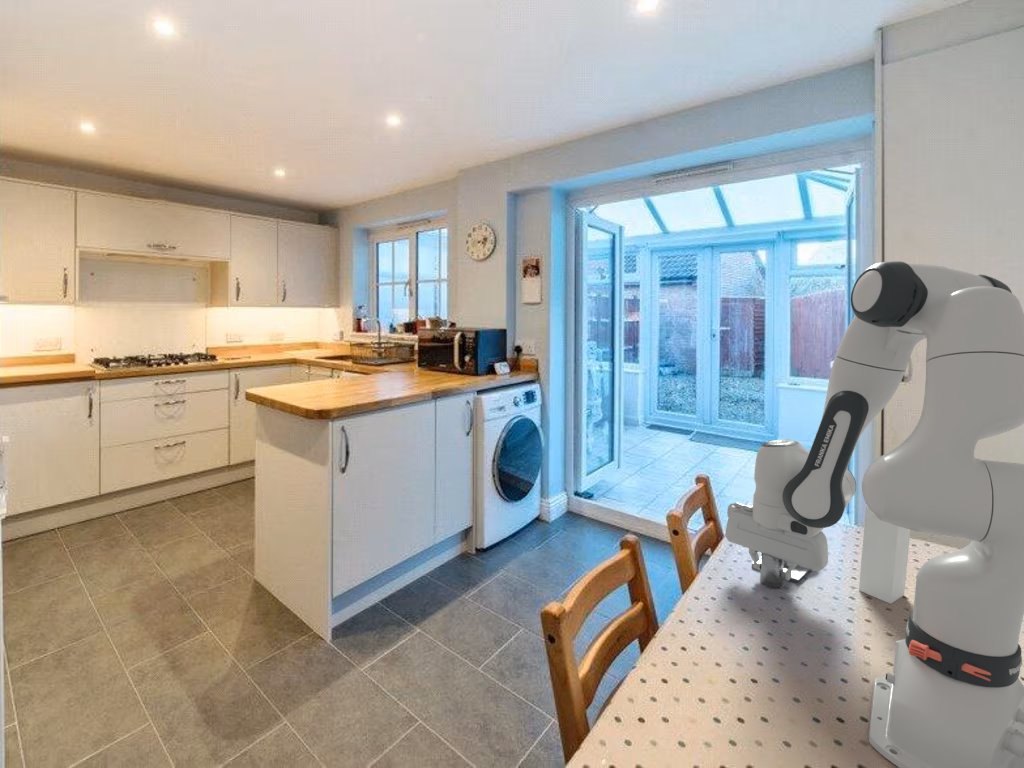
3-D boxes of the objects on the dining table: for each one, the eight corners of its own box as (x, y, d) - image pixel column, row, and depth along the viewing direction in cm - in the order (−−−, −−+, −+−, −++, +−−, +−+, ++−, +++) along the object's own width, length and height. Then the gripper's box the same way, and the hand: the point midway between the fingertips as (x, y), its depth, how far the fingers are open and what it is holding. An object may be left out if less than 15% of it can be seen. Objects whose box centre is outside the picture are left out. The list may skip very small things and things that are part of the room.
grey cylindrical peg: (777, 591, 106) (779, 560, 105) (756, 583, 110) (758, 553, 109) (785, 583, 109) (787, 553, 108) (765, 576, 113) (766, 546, 112)
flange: (797, 583, 109) (799, 555, 108) (751, 566, 117) (753, 540, 116) (823, 559, 119) (825, 533, 118) (779, 545, 127) (781, 520, 126)
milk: (858, 591, 106) (865, 491, 103) (872, 582, 109) (879, 485, 106) (891, 604, 101) (900, 500, 98) (905, 595, 104) (914, 494, 101)
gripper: (721, 503, 113) (719, 560, 115) (822, 532, 98) (817, 598, 100) (734, 496, 117) (732, 552, 119) (833, 523, 102) (828, 586, 104)
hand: (771, 573), depth 109 cm, fingers closed on grey cylindrical peg, 4 cm apart
